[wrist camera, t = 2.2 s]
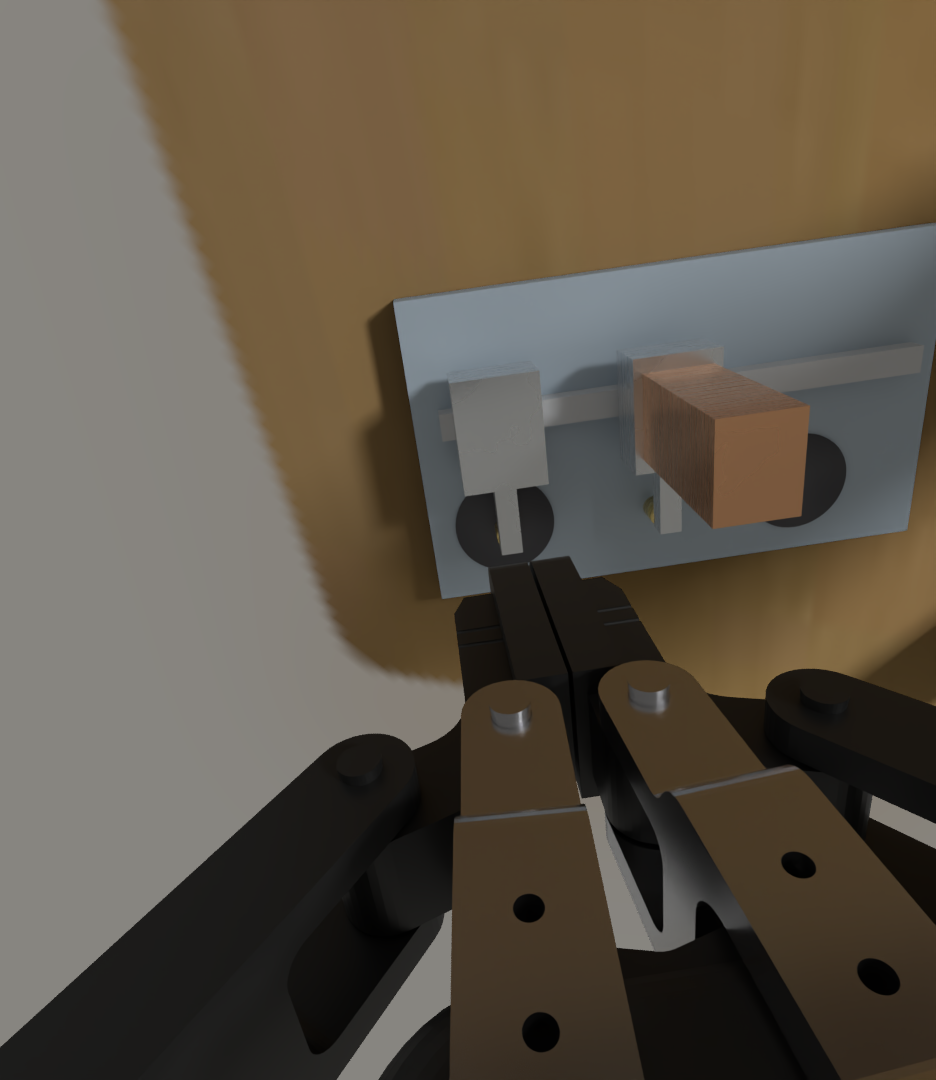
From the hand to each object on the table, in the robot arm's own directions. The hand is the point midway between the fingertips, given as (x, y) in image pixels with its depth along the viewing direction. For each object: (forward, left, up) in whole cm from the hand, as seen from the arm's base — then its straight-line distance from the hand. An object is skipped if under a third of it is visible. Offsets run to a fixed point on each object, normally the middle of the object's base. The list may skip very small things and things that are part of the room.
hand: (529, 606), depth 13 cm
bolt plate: (-8, +2, -16) cm, 18 cm away
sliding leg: (-7, +2, -14) cm, 16 cm away
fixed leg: (-1, +2, -14) cm, 14 cm away
